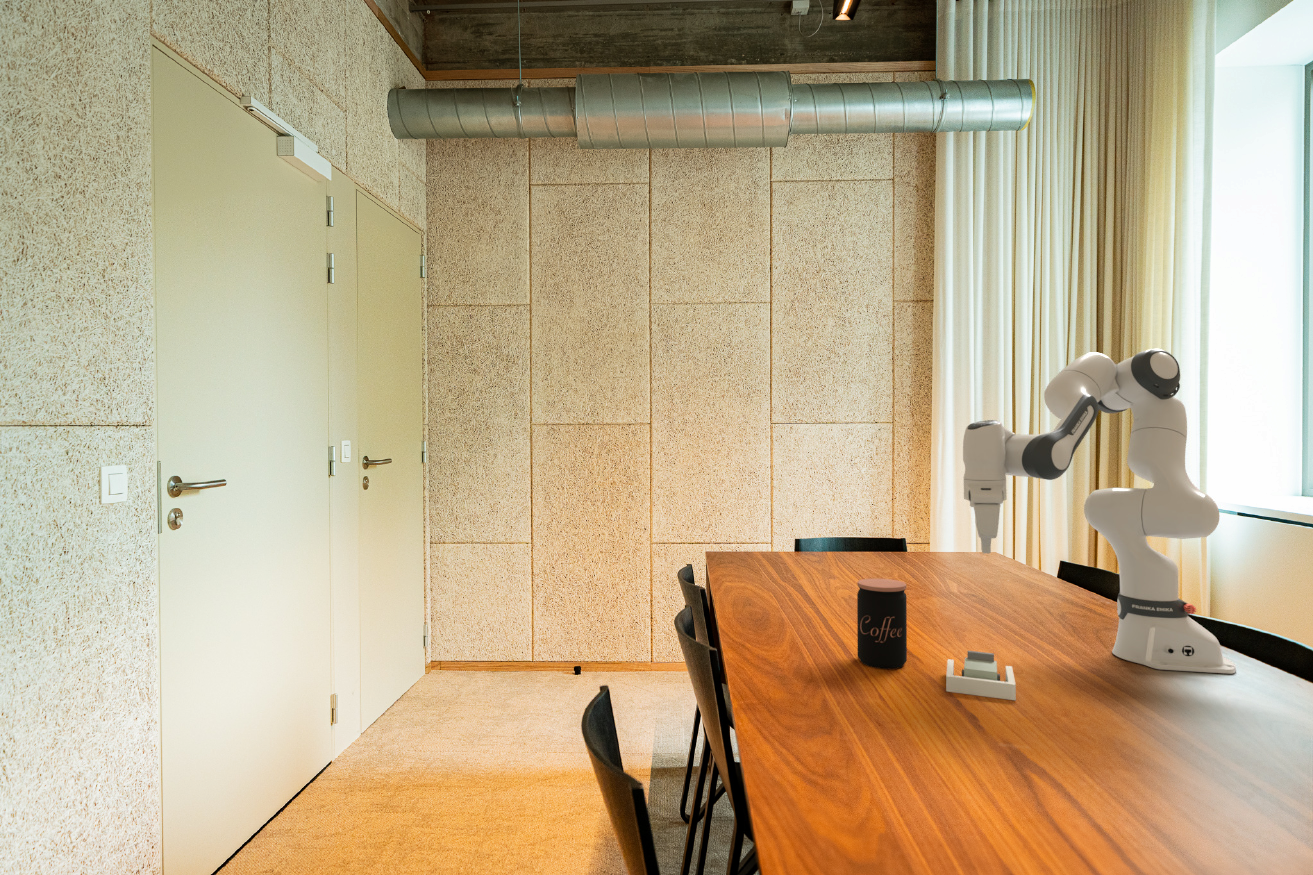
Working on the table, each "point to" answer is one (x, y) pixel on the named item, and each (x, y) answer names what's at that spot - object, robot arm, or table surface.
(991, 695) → the dock bay
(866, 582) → the coffee jar
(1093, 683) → the table surface
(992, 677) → the sage cart
